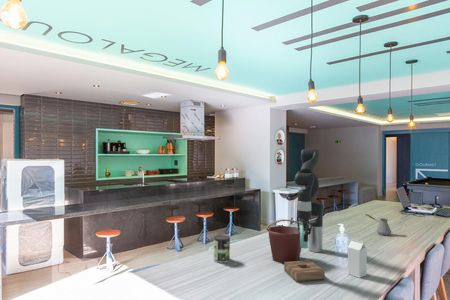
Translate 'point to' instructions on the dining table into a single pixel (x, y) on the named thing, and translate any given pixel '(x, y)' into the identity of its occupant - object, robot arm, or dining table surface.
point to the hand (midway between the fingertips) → (304, 240)
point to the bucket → (284, 242)
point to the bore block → (304, 271)
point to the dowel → (302, 238)
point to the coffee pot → (382, 227)
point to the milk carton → (357, 258)
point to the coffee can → (221, 248)
